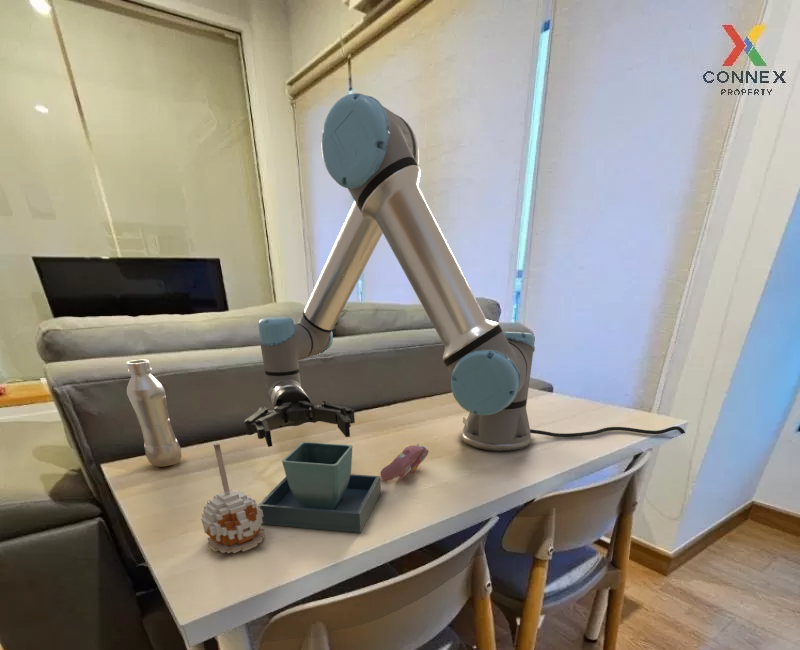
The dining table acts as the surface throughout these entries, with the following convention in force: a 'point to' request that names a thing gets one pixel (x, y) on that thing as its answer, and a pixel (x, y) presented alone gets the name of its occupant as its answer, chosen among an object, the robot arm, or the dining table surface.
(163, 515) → the dining table surface
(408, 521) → the dining table surface
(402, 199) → the robot arm
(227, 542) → the decorative ornament
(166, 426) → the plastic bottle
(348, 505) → the tray
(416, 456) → the pink elongated piece
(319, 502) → the flower pot
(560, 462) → the dining table surface
